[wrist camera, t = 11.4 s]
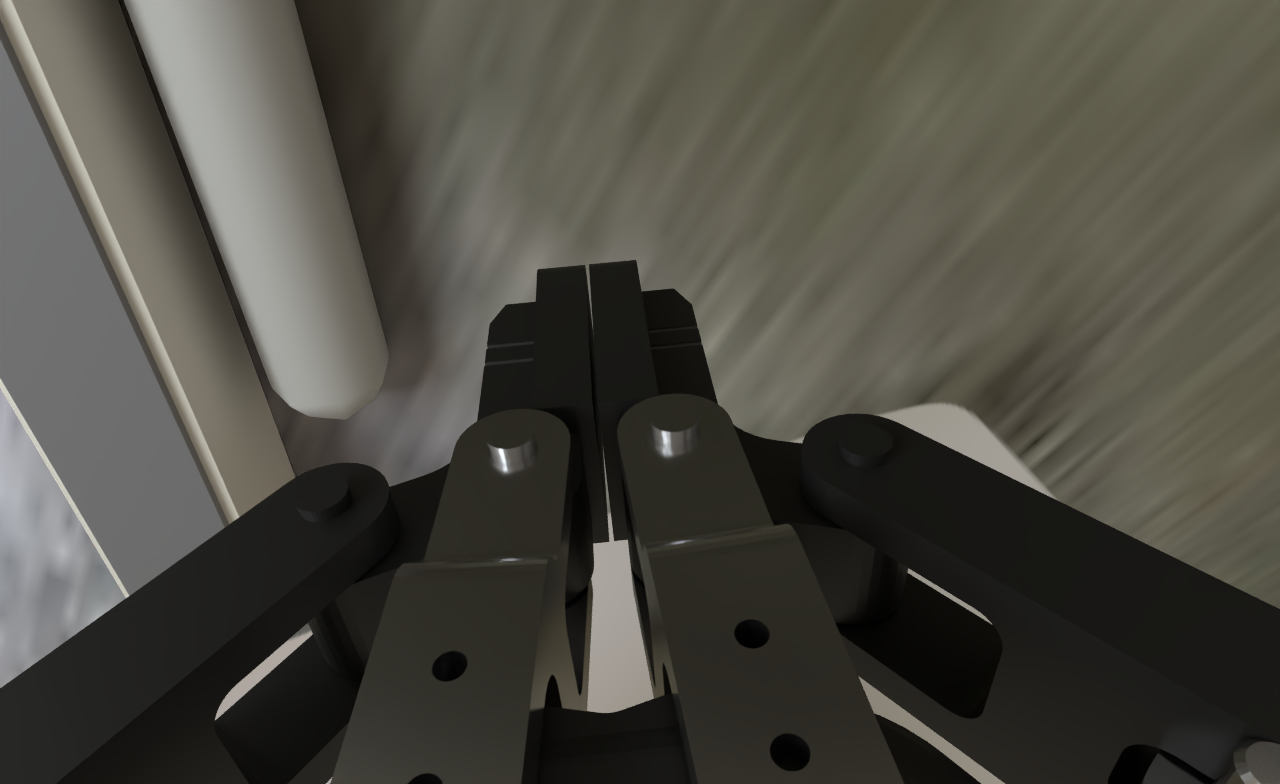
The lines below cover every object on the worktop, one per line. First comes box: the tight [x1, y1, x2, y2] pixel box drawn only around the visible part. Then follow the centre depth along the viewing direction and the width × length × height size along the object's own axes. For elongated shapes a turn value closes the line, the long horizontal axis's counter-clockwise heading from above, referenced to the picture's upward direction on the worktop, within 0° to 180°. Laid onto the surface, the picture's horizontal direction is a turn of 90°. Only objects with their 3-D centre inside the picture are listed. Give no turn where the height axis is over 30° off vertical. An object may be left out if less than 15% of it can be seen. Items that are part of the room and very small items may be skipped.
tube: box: [124, 0, 390, 420], centre depth 28 cm, size 5×5×25 cm
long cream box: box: [0, 0, 295, 598], centre depth 29 cm, size 9×36×6 cm, turn 2°
